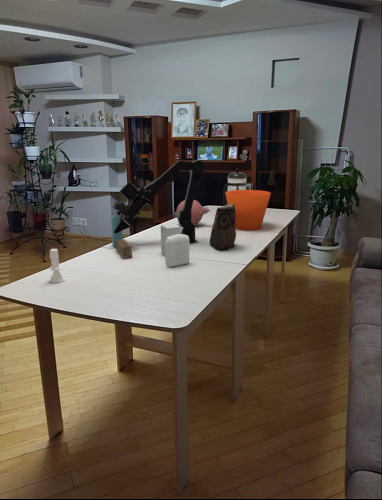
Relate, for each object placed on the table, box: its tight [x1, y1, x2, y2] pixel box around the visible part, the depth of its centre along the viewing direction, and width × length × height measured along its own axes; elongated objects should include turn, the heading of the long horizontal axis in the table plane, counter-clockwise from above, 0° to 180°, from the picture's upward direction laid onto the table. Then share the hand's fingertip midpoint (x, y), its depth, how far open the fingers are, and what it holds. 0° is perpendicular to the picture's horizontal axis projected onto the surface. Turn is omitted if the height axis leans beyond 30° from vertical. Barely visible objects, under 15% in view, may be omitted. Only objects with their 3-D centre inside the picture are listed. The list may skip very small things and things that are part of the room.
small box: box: [160, 223, 182, 256], centre depth 165 cm, size 8×6×13 cm
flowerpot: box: [225, 189, 272, 232], centre depth 216 cm, size 25×25×20 cm
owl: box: [209, 204, 237, 252], centre depth 175 cm, size 13×13×20 cm
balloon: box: [176, 199, 211, 226], centre depth 221 cm, size 15×20×15 cm
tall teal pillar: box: [110, 215, 123, 248], centre depth 179 cm, size 4×4×14 cm
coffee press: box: [222, 168, 248, 206], centre depth 254 cm, size 17×16×30 cm
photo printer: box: [164, 234, 190, 268], centre depth 153 cm, size 10×4×12 cm, turn 123°
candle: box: [48, 248, 66, 284], centre depth 136 cm, size 5×5×12 cm
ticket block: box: [115, 238, 133, 260], centre depth 168 cm, size 4×14×5 cm, turn 22°
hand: (113, 231), depth 179 cm, fingers closed on tall teal pillar, 4 cm apart
